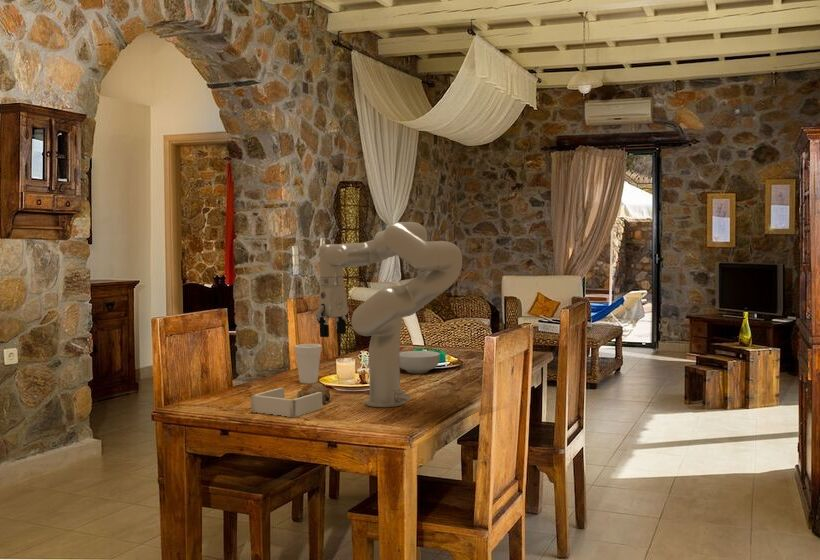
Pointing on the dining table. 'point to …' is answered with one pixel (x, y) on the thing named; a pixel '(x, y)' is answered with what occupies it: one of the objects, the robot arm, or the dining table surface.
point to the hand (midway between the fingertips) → (333, 335)
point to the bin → (285, 403)
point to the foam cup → (308, 362)
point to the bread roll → (315, 391)
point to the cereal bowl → (419, 361)
